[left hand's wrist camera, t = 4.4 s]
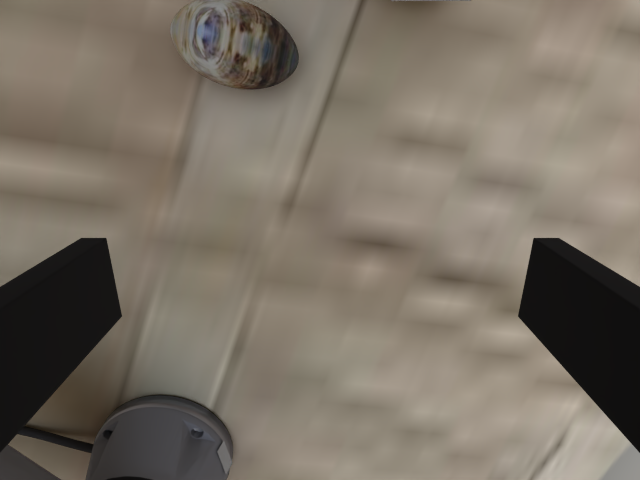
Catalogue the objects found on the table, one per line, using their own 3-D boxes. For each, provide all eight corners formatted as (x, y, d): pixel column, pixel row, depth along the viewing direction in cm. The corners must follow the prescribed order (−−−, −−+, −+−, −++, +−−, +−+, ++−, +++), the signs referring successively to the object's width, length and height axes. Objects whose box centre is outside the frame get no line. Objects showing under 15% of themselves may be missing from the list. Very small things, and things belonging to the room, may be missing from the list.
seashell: (180, 72, 33) (140, 64, 25) (190, -5, 31) (150, -38, 23) (292, 102, 34) (286, 103, 26) (308, 29, 32) (306, 7, 24)
